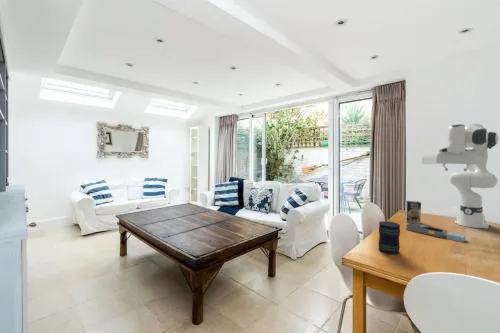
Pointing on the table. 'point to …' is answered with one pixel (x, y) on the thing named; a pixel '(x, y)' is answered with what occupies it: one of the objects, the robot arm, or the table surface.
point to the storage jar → (389, 237)
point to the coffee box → (413, 212)
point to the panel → (456, 237)
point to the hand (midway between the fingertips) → (455, 170)
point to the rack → (426, 230)
